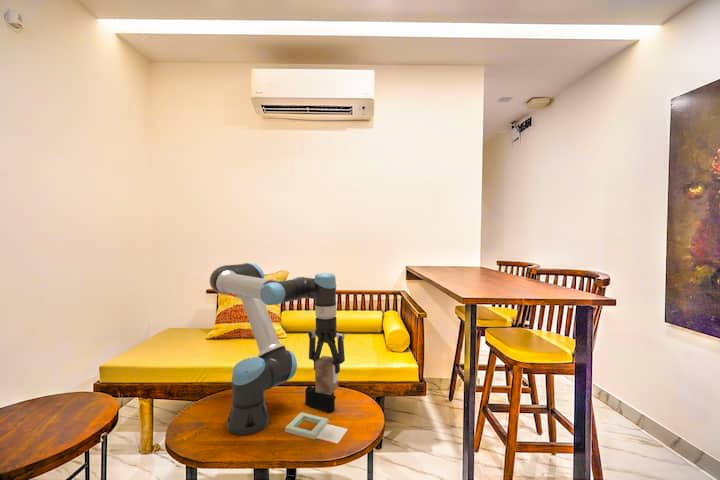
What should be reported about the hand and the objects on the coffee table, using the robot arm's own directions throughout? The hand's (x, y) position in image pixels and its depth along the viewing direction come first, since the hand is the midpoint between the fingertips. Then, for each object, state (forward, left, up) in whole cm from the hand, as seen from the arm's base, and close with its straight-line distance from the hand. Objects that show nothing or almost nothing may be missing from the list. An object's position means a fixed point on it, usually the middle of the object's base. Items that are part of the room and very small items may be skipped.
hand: (326, 380), depth 121 cm
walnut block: (0, 0, -3) cm, 3 cm away
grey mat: (+2, 0, -20) cm, 20 cm away
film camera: (-11, +18, -20) cm, 29 cm away
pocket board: (-8, 0, -20) cm, 21 cm away
